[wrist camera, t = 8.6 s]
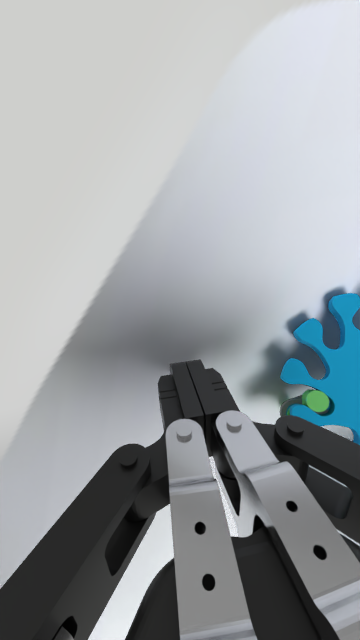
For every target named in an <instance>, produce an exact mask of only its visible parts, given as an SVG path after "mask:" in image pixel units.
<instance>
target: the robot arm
mask: <svg viewBox="0 0 360 640" xmlns="http://www.w3.org/2000/svg"><path fill="white" fill-rule="evenodd" d="M158 392H159V401H160V410H161V416H162V422H163V428H164V433H163V435H162V436H161V438H160V439H159V440H158V441H157V442H155V443H154V444H152V445H150V446H148V447H146V448H144V447H143V446H141V445H139V444H127V445H124V446H122V447H120V448H118V449H117V450H116V451H115V452H114V453H113V454H112V455H111V456H110V458H109V459H108V460H107V461H106V462H105V464H104V465H103V466H102V467H101V468H100V470H99V471H98V472H97V473H96V474H95V476H94V477H93V478H92V479H91V480H90V482H89V483H88V484H87V485H86V486H85V488H84V489H83V490H82V491H81V493H80V494H79V495H78V496H77V497H76V499H75V500H74V501H73V502H72V503H71V505H70V506H69V507H68V508H67V509H66V511H65V512H64V513H63V514H62V515H61V517H60V518H59V519H58V520H57V521H56V523H55V524H54V525H53V526H52V528H51V529H50V530H49V531H48V532H47V534H46V535H45V536H44V537H43V538H42V540H41V541H40V542H39V543H38V544H37V546H36V547H35V548H34V549H33V550H32V552H31V553H30V554H29V555H28V556H27V558H26V559H25V560H24V561H23V563H22V564H21V565H20V566H19V567H18V569H17V570H16V571H15V572H14V573H13V575H12V576H11V577H10V578H9V579H8V581H7V582H6V583H5V584H4V585H3V587H2V588H1V589H0V640H88V638H89V636H90V634H91V632H92V631H93V629H94V627H95V625H96V623H97V621H98V620H99V618H100V616H101V614H102V612H103V611H104V609H105V607H106V605H107V603H108V601H109V600H110V598H111V596H112V594H113V592H114V590H115V589H116V587H117V585H118V583H119V581H120V580H121V578H122V576H123V574H124V572H125V570H126V569H127V567H128V565H129V563H130V561H131V560H132V558H133V556H134V554H135V552H136V550H137V549H138V547H139V545H140V543H141V541H142V539H143V538H144V536H145V534H146V532H147V530H148V529H149V527H150V525H151V523H152V521H153V519H154V517H155V515H156V512H157V511H159V510H160V509H162V508H164V507H165V506H167V505H168V504H170V506H171V520H172V534H173V547H174V558H173V559H172V560H171V561H169V562H168V563H167V564H166V565H165V566H164V567H163V568H162V569H161V570H160V571H159V572H158V574H157V575H156V576H155V578H154V579H153V581H152V582H151V584H150V586H149V587H148V589H147V591H146V593H145V595H144V597H143V599H142V602H141V604H140V606H139V609H138V611H137V613H136V616H135V618H134V620H133V622H132V625H131V627H130V629H129V632H128V634H127V636H126V639H125V640H360V546H359V545H357V544H356V543H354V542H353V541H351V540H350V539H348V538H347V537H345V536H343V535H342V534H340V533H339V532H338V531H337V530H339V531H340V532H342V533H343V534H345V535H346V536H348V537H349V538H351V539H353V540H354V541H356V542H357V543H359V544H360V445H359V444H356V443H354V442H352V441H350V440H348V439H346V438H344V437H341V436H339V435H337V434H335V433H333V432H331V431H329V430H326V429H324V428H322V427H320V426H318V425H316V424H313V423H311V422H309V421H307V420H305V419H303V418H300V417H297V416H293V415H286V416H282V417H280V418H279V419H278V420H277V421H276V424H275V425H271V424H261V423H256V422H253V421H251V419H250V418H249V417H248V416H247V415H245V414H244V413H242V412H240V411H239V409H238V407H237V405H236V403H235V401H234V399H233V397H232V395H231V394H230V392H229V390H228V389H227V386H226V384H225V383H224V380H223V378H222V376H221V374H220V373H218V372H217V371H216V370H214V369H213V368H210V369H205V368H204V366H203V363H202V361H201V360H194V361H187V362H180V363H174V364H170V375H165V376H161V377H160V379H159V382H158ZM211 456H213V458H214V461H215V472H216V476H217V479H218V481H219V483H220V486H221V488H222V491H223V493H224V496H225V498H226V501H227V503H228V505H229V508H230V510H231V513H232V515H233V518H234V520H235V523H236V526H237V531H238V537H231V536H230V532H229V528H228V524H227V520H226V515H225V511H224V507H223V503H222V499H221V495H220V490H219V486H218V483H217V480H216V479H214V477H213V474H212V469H211V465H210V461H209V457H211ZM309 465H310V466H312V467H314V468H316V469H317V470H319V471H321V472H323V473H325V474H326V475H328V476H330V477H332V478H334V479H335V480H337V481H339V482H341V483H342V484H344V485H346V486H347V487H345V486H343V485H341V484H340V483H338V482H336V481H334V480H333V479H331V478H329V477H327V476H325V475H324V474H322V473H320V472H318V471H317V470H315V469H313V468H311V467H309Z"/></svg>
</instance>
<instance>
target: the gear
mask: <svg viewBox="0 0 360 640" xmlns="http://www.w3.org/2000/svg"><path fill="white" fill-rule="evenodd" d="M328 308H329V311H330V312H331V313H332V315H333V316H334V317H335V318H336V320H337V322H338V324H339V328H340V345H339V347H338V348H337V349H330V348H328V347H326V346H325V345H324V343H323V340H322V336H323V328H322V325H321V323H320V322H319V321H318V320H316V319H314V318H312V319H309V320H307V321H305V322H304V323H303V324H301V325H300V326H299V327H298V328H297V329H296V330H295V331H294V332H293V333H294V336H295V338H296V339H297V341H299V342H300V343H303V344H305V345H307V346H309V347H310V348H312V349H313V350H314V351H315V352H316V353H317V354H318V355H319V357H320V359H321V360H322V362H323V364H324V366H325V368H326V374H325V376H324V377H323V378H322V379H320V380H316V379H314V378H312V377H311V376H310V375H309V373H308V371H307V369H306V367H305V365H304V364H303V363H302V362H301V361H300V360H298V359H294V358H290V359H288V360H287V362H286V363H285V364H284V366H283V369H282V372H281V376H280V378H281V379H282V380H283V381H284V382H286V383H288V384H303V385H307V386H310V387H312V388H314V389H316V390H307V391H305V392H304V393H303V395H300V396H297V397H294V398H292V399H289V400H287V401H285V402H284V403H283V404H282V406H281V408H280V416H281V417H282V416H286V415H293V416H297V417H300V418H303V419H305V420H307V421H309V422H311V423H313V424H316V425H318V426H324V425H339V426H345V427H349V428H350V429H351V430H352V432H353V435H354V439H353V442H354V443H356V444H359V445H360V330H359V329H357V328H356V327H355V326H354V324H353V322H352V319H353V316H354V314H355V313H356V312H357V311H358V309H359V308H360V297H359V296H358V295H357V294H353V293H348V294H341V295H337V296H333V297H332V299H331V300H330V301H329V303H328Z"/></svg>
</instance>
